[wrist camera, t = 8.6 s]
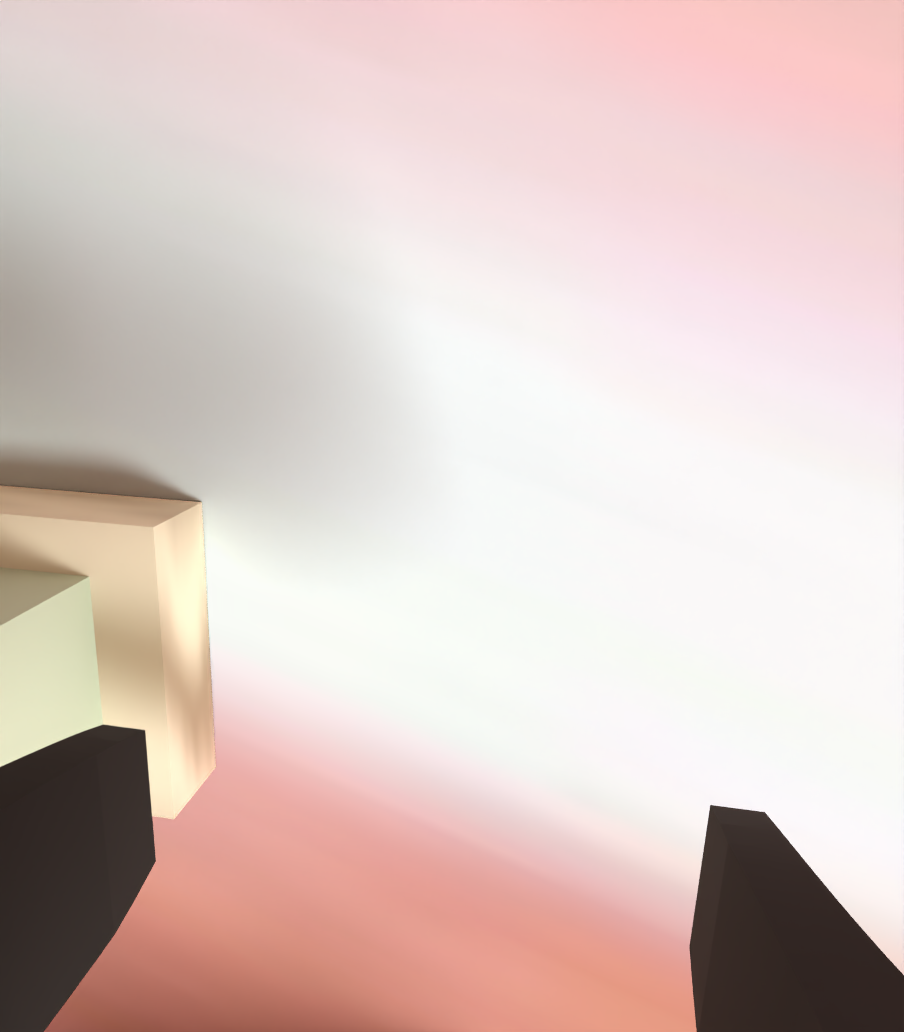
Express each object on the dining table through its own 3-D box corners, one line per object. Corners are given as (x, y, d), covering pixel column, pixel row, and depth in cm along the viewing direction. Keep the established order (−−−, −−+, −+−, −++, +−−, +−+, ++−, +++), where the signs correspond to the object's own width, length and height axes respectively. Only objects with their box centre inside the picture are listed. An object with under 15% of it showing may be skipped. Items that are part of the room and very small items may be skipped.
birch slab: (215, 767, 23) (173, 819, 21) (-29, 733, 24) (-94, 778, 22) (201, 501, 21) (153, 527, 18) (-67, 479, 22) (-144, 500, 20)
